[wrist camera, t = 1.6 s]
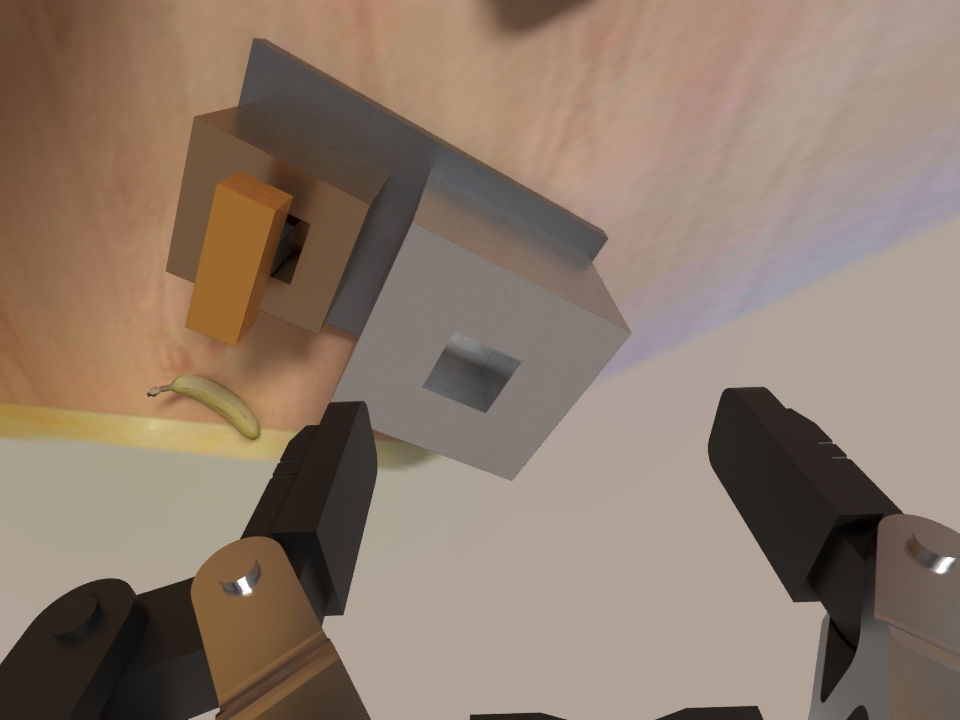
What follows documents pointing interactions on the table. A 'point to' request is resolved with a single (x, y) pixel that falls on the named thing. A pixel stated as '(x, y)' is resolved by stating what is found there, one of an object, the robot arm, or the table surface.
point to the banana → (215, 401)
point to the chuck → (412, 264)
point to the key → (240, 255)
